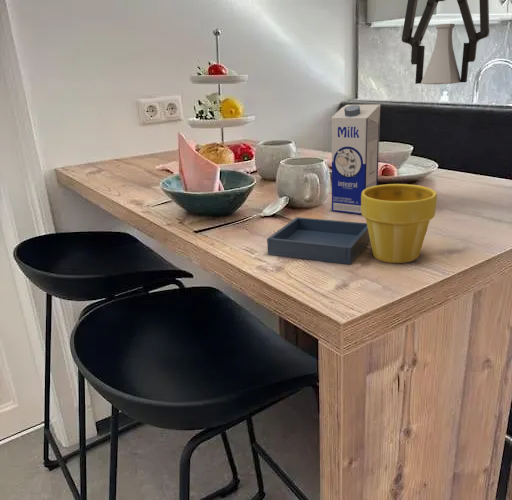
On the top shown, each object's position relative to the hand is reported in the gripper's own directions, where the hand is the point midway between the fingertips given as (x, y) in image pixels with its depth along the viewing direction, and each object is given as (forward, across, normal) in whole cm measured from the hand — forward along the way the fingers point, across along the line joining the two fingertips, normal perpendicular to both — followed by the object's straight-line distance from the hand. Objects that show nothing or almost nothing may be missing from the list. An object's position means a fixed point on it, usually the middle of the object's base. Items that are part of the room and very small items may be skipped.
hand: (440, 82), depth 92 cm
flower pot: (+23, 0, +31) cm, 38 cm away
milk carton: (+23, +14, +8) cm, 28 cm away
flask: (0, 0, 0) cm, 0 cm away
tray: (+23, +12, +30) cm, 40 cm away
